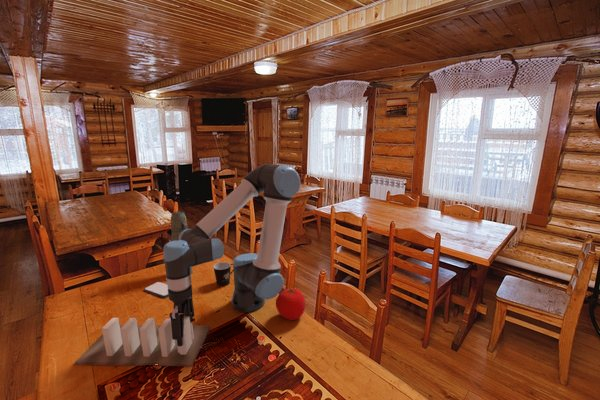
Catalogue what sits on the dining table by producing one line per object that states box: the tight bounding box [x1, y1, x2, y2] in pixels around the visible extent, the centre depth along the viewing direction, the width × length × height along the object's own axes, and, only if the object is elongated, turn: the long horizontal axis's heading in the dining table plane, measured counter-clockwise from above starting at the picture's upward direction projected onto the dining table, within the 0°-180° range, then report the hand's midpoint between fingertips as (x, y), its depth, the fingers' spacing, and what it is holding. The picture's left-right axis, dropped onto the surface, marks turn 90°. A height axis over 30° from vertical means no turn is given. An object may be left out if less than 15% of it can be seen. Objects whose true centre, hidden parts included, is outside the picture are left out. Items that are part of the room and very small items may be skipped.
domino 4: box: [158, 317, 175, 357], centre depth 106 cm, size 2×6×11 cm, turn 179°
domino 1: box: [101, 317, 123, 356], centre depth 107 cm, size 2×6×11 cm, turn 179°
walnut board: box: [74, 324, 211, 367], centre depth 112 cm, size 40×20×1 cm, turn 89°
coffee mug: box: [212, 261, 234, 287], centre depth 155 cm, size 12×9×10 cm
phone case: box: [143, 281, 169, 299], centre depth 149 cm, size 9×2×16 cm
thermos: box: [170, 211, 193, 275], centre depth 162 cm, size 9×12×35 cm
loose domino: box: [180, 316, 192, 355], centre depth 106 cm, size 2×6×11 cm, turn 179°
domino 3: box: [140, 317, 158, 357], centre depth 106 cm, size 2×6×11 cm, turn 179°
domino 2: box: [121, 317, 140, 356], centre depth 106 cm, size 2×6×11 cm, turn 179°
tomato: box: [275, 287, 306, 321], centre depth 127 cm, size 12×12×13 cm
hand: (186, 344), depth 107 cm, fingers closed on loose domino, 6 cm apart
